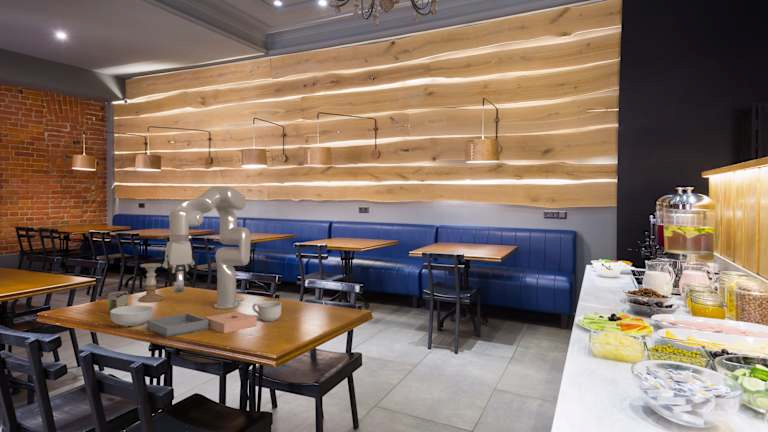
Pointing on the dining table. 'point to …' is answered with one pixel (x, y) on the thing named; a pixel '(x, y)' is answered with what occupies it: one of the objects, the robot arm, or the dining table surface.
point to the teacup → (268, 310)
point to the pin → (179, 279)
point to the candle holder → (150, 284)
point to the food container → (118, 299)
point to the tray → (177, 325)
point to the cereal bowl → (131, 315)
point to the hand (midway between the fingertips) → (178, 280)
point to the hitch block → (231, 322)
